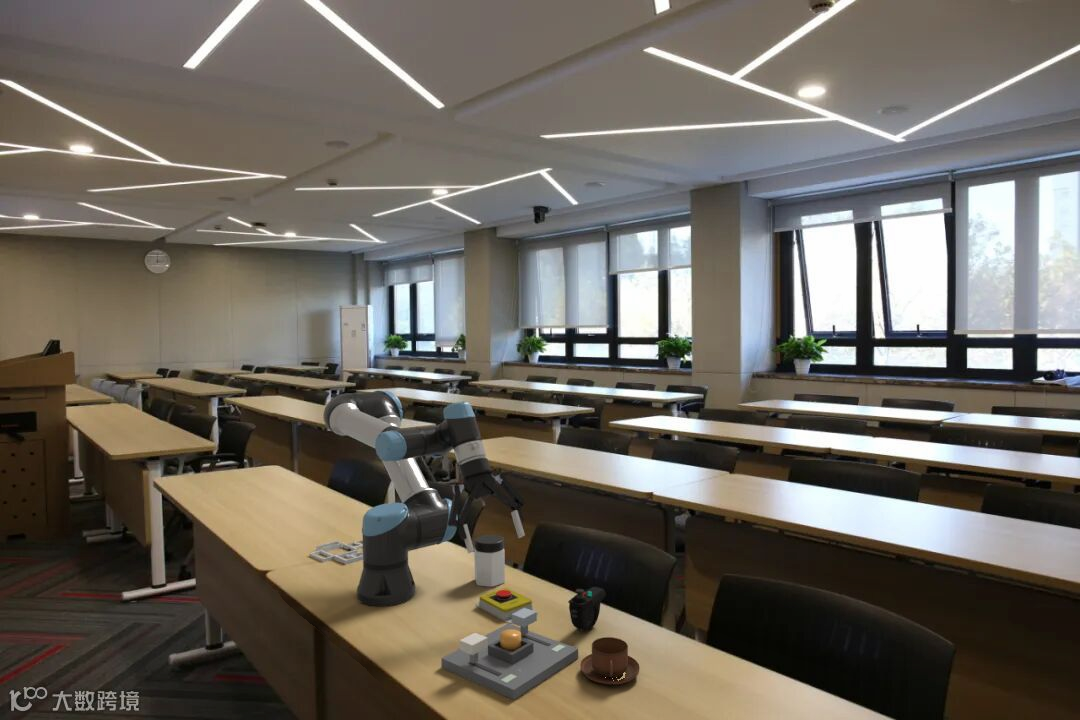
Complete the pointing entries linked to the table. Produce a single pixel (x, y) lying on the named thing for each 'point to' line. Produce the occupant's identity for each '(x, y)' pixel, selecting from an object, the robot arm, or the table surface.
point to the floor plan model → (339, 557)
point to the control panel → (512, 663)
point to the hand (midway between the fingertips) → (497, 544)
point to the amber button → (510, 639)
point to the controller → (586, 607)
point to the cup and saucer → (609, 662)
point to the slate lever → (524, 619)
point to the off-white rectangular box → (473, 645)
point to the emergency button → (504, 603)
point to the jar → (489, 560)
